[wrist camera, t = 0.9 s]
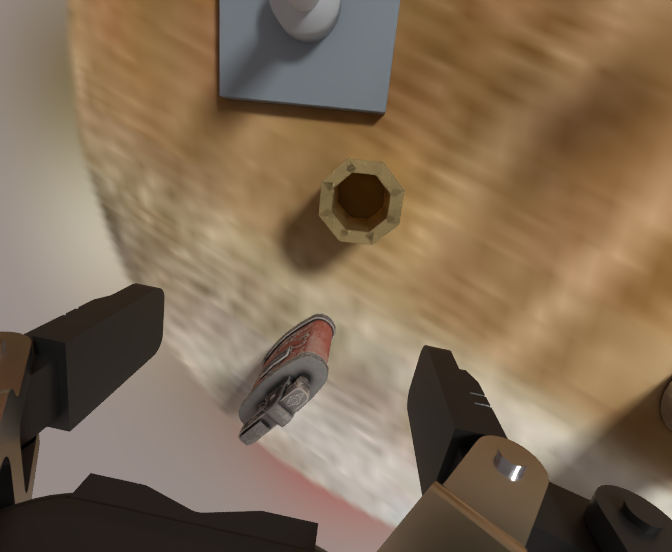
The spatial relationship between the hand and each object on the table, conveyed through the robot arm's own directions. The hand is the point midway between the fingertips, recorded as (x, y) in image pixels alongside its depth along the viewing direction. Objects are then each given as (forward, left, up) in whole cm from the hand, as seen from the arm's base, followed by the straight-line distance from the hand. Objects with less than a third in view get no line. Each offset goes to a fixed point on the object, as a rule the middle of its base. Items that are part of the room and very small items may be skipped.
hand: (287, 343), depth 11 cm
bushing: (-2, -3, -19) cm, 20 cm away
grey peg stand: (+3, -15, -19) cm, 25 cm away
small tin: (+2, +11, -20) cm, 23 cm away
